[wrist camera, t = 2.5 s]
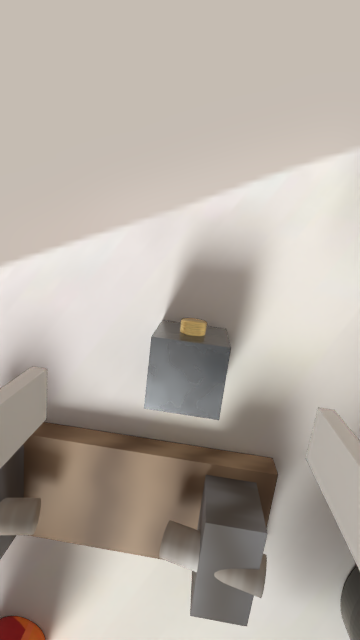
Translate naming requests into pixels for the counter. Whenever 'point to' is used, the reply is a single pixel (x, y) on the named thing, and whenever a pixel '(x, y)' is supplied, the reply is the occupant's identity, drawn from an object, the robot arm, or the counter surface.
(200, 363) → the coupler
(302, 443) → the counter surface
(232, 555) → the shaft stand
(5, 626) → the coffee cup
